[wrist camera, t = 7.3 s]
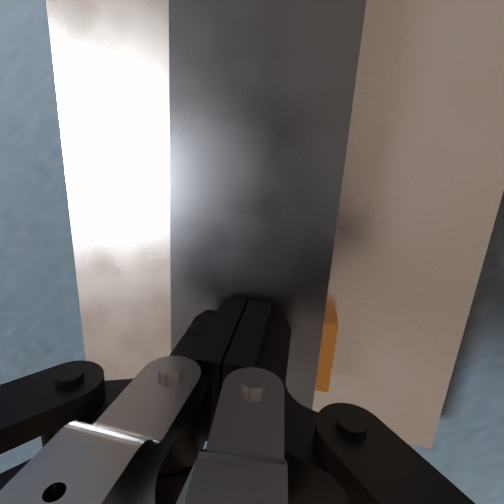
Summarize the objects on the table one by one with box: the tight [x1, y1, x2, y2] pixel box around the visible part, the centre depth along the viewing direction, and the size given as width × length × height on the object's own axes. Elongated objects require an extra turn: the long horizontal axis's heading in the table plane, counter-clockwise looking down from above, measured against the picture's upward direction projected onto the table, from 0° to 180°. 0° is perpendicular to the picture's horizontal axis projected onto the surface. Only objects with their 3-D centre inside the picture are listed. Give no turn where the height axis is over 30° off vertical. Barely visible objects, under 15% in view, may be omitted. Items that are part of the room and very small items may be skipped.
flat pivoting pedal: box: [169, 0, 366, 410], centre depth 10 cm, size 19×5×2 cm, turn 177°
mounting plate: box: [46, 0, 504, 448], centre depth 12 cm, size 24×16×5 cm, turn 177°
